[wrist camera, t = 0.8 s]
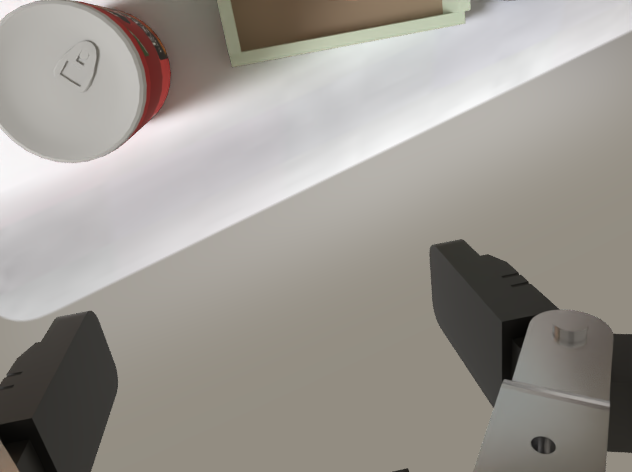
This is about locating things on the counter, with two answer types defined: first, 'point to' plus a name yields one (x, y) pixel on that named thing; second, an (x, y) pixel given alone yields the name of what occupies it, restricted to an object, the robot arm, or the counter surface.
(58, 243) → the counter surface
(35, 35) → the canned food
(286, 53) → the box
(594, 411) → the robot arm
